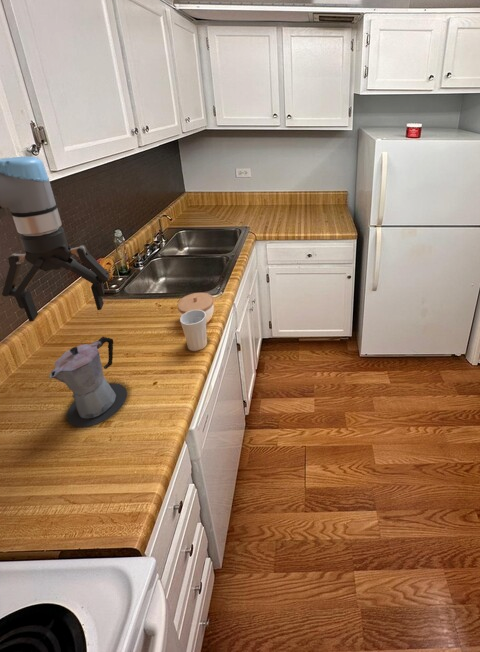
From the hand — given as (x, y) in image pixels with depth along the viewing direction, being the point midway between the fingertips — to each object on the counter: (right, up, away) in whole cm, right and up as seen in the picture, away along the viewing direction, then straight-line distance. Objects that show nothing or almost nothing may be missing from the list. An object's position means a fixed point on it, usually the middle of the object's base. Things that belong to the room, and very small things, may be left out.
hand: (68, 312), depth 79 cm
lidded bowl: (+15, -15, +46) cm, 50 cm away
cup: (+19, -20, +33) cm, 43 cm away
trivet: (0, -29, +11) cm, 31 cm away
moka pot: (0, -28, +11) cm, 30 cm away
